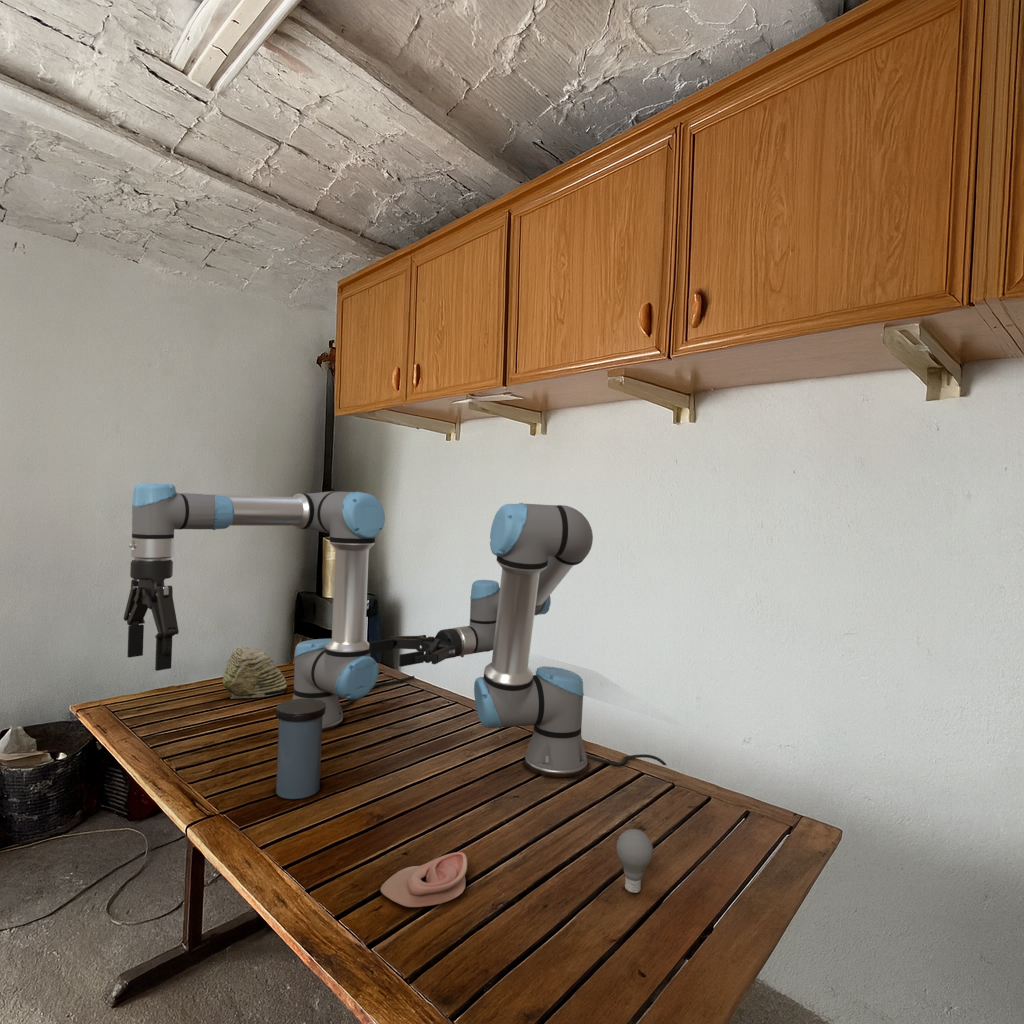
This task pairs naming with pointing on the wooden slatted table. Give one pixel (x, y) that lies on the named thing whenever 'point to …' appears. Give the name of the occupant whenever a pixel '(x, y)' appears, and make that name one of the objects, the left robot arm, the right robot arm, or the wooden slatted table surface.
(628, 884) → the light bulb
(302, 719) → the lid
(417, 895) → the anatomical model
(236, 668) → the fossil
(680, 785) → the wooden slatted table surface
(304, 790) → the jar
